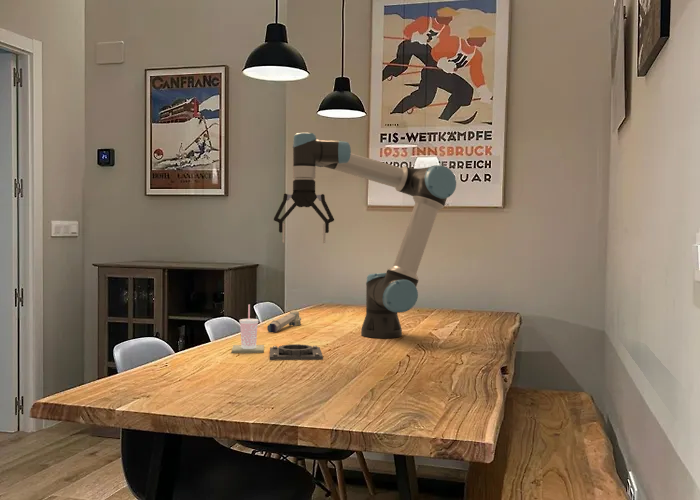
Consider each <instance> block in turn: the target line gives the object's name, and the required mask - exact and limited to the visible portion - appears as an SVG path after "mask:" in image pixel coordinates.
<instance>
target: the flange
mask: <svg viewBox="0 0 700 500" xmlns="http://www.w3.org/2000/svg"><path fill="white" fill-rule="evenodd" d="M323 359H324V356H323V352H322V350H321V347H319V346H317V345H313V346H312V345H308V344H299V343H298V344H297V343H296V344H290V343H289V344H283V345H280V346H277V345H273V346H272V347H269V361H295V360H296V361H297V360H300V361H303V360H305V361H307V360H308V361H309V360H311V361H313V360H314V361H315V360H316V361H317V360H318V361H319V360H321V361H323Z"/></svg>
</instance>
